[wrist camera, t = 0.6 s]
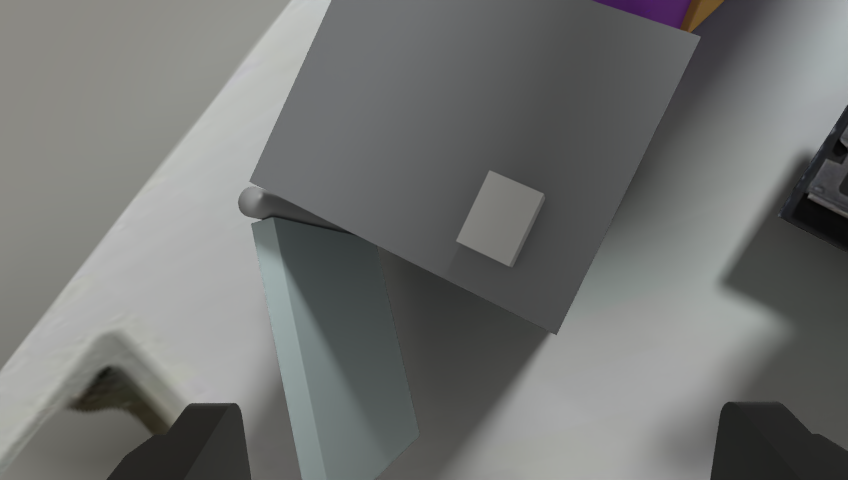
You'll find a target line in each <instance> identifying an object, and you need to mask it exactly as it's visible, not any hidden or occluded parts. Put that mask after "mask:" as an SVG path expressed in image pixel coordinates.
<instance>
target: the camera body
mask: <svg viewBox="0 0 848 480" xmlns="http://www.w3.org/2000/svg"><path fill="white" fill-rule="evenodd" d="M700 38H701V36H698V35H695V34H692V33H689V32H686V31H683V30H680V29H677V28H674V27H671V26H668V25H665V24H662V23H659V22H655V21H652V20H649V19H646V18H643V17H640V16H637V15H634V14H631V13H628V12H625V11H622V10H619V9H616V8H613V7H610V6H607V5H604V4H601V3H598V2H594V1H591V0H332V1H331V3H330V5H329V7H328V9H327V12H326V14H325V16H324V18H323V20H322V23H321V25H320V27H319V29H318V31H317V34H316V36H315V38H314V40H313V42H312V45H311V47H310V49H309V51H308V53H307V56H306V58H305V60H304V62H303V64H302V67H301V69H300V71H299V73H298V75H297V78H296V80H295V82H294V84H293V86H292V89H291V91H290V93H289V95H288V97H287V100H286V102H285V104H284V106H283V108H282V111H281V113H280V115H279V117H278V119H277V122H276V124H275V126H274V128H273V130H272V133H271V135H270V137H269V139H268V141H267V144H266V146H265V148H264V150H263V152H262V155H261V157H260V159H259V161H258V163H257V166H256V168H255V170H254V172H253V174H252V176H251V179H250V181H249V182H251V183H253V184H255V185H257V186H259V187H261V188H263V189H265V190H267V191H269V192H271V193H273V194H275V195H277V196H279V197H281V198H283V199H285V200H287V201H289V202H291V203H293V204H295V205H297V206H299V207H301V208H303V209H305V210H307V211H309V212H311V213H313V214H315V215H317V216H319V217H321V218H323V219H325V220H327V221H329V222H331V223H333V224H335V225H337V226H339V227H341V228H343V229H345V230H347V231H349V232H351V233H353V234H355V235H357V236H359V237H361V238H363V239H365V240H367V241H369V242H371V243H373V244H375V245H377V246H379V247H381V248H383V249H385V250H387V251H389V252H391V253H393V254H395V255H397V256H399V257H401V258H403V259H405V260H407V261H409V262H411V263H413V264H415V265H417V266H419V267H421V268H423V269H425V270H427V271H429V272H431V273H433V274H435V275H437V276H439V277H441V278H443V279H445V280H447V281H449V282H451V283H453V284H455V285H457V286H459V287H461V288H463V289H465V290H467V291H469V292H471V293H473V294H475V295H477V296H479V297H481V298H483V299H485V300H487V301H489V302H491V303H493V304H495V305H497V306H499V307H501V308H503V309H505V310H507V311H509V312H511V313H513V314H515V315H517V316H519V317H521V318H523V319H525V320H527V321H529V322H531V323H533V324H535V325H537V326H539V327H541V328H543V329H545V330H547V331H549V332H551V333H553V334H555V335H557V333H558V331H559V329H560V327H561V325H562V322H563V320H564V318H565V316H566V314H567V312H568V310H569V308H570V306H571V304H572V302H573V300H574V298H575V296H576V294H577V292H578V290H579V287H580V285H581V283H582V281H583V279H584V277H585V275H586V273H587V271H588V269H589V267H590V265H591V263H592V261H593V259H594V257H595V254H596V252H597V250H598V248H599V246H600V244H601V242H602V240H603V238H604V236H605V234H606V232H607V230H608V228H609V226H610V224H611V221H612V219H613V217H614V215H615V213H616V211H617V209H618V207H619V205H620V203H621V201H622V199H623V197H624V195H625V193H626V191H627V188H628V186H629V184H630V182H631V180H632V178H633V176H634V174H635V172H636V170H637V168H638V166H639V164H640V162H641V160H642V158H643V155H644V153H645V151H646V149H647V147H648V145H649V143H650V141H651V139H652V137H653V135H654V133H655V131H656V129H657V127H658V125H659V123H660V120H661V118H662V116H663V114H664V112H665V110H666V108H667V106H668V104H669V102H670V100H671V98H672V96H673V94H674V92H675V90H676V87H677V85H678V83H679V81H680V79H681V77H682V75H683V73H684V71H685V69H686V67H687V65H688V63H689V61H690V59H691V57H692V54H693V52H694V50H695V48H696V46H697V44H698V42H699V40H700Z"/></svg>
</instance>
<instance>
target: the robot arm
mask: <svg viewBox="0 0 848 480" xmlns="http://www.w3.org/2000/svg"><path fill="white" fill-rule="evenodd" d="M107 480H251V474H250V467H249V461H248V454H247V447H246V440H245V433H244V427H243V420H242V414H241V410H240V408H239V406H238V405H237V404H236V403H192V404H189V405H188V406H187V407H186V408H185V409H184V411H183V412H182V413H181V415H180V416H179V417H178V419H177V420H176V421H175V423H174V424H173V425H172V427H171V428H170V430H169V431H168V432H167V434H166V435H154V436H152V437H151V438H150V439H148V440H147V441H146V442H144V443H143V444H141V445H140V446H138V447H137V448H136V449H134V450H133V451H132V452H130V453H129V454H127V455H126V456H125V457H124V458H123V460H122V461H121V462H120V463H119V465H118V466H117V467H116V468H115V470H114V471H113V472H112V473H111V475H110V476H109V477H108V478H107ZM710 480H848V451H846V450H845V449H843V448H842V447H840V446H838V445H837V444H835V443H833V442H832V441H830V440H828V439H827V438H825V437H823V436H822V435H820V434H812V433H811V432H810V431H809V430H808V429H807V428H806V427H805V426H804V425H803V424H802V423H801V422H800V421H799V420H798V419H797V418H796V417H795V416H794V415H793V414H792V413H791V412H790V411H789V410H788V409H787V408H786V407H785V406H784V405H783V404H781V403H779V402H728V403H726V404H725V405H724V406H723V408H722V410H721V414H720V420H719V426H718V433H717V439H716V446H715V452H714V459H713V465H712V472H711V479H710Z"/></svg>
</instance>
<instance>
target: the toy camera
mask: <svg viewBox="0 0 848 480" xmlns="http://www.w3.org/2000/svg"><path fill="white" fill-rule="evenodd" d="M591 1H594V2H598V3H601V4H604V5H607V6H610V7H613V8H616V9H619V10H622V11H625V12H628V13H631V14H634V15H637V16H640V17H643V18H646V19H649V20H652V21H655V22H659V23H662V24H665V25H668V26H671V27H674V28H677V29H680V30H683V31H686V32H689V33H691V32H692V31H693V30H694V29H695V28H696V27H697V26H698V25H699V24H700V23H701V22H702V21H704V20H705V19H706V18H707V17H708V16H709V15H710V14H711V13H712V12H713V11H714V10H715V9H716V8H717V7H718V6H719V5H720V4H721V3H722V2H723V1H725V0H591Z"/></svg>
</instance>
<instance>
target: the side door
mask: <svg viewBox="0 0 848 480" xmlns="http://www.w3.org/2000/svg"><path fill="white" fill-rule="evenodd" d="M238 205H239V209H240V211H241V212H242V213H243V214H244V215H245V216H248V217H252V218H257V219H262V220H261V221H258V222H255V223H252V224H251V225H252V230H253V236H254V241H255V246H256V251H257V256H258V261H259V266H260V271H261V276H262V281H263V286H264V291H265V296H266V301H267V306H268V311H269V316H270V321H271V326H272V331H273V336H274V341H275V346H276V351H277V356H278V362H279V367H280V372H281V377H282V382H283V387H284V392H285V397H286V402H287V407H288V412H289V417H290V422H291V427H292V432H293V437H294V442H295V447H296V452H297V457H298V462H299V467H300V472H301V477H302V480H375V479H376V478H377V477H378V476H379V475H380V474H381V473H382V472H383V471H384V470H385V469H386V468H387V467H388V466H389V465H390V464H391V463H392V462H393V461H394V460H395V459H396V458H397V457H398V456H399V455H400V454H401V453H402V452H403V451H404V450H405V449H406V448H407V447H408V446H409V445H410V444H411V443H412V442H413V441H415V440H416V439H417V438H418V437H419V436H420V434H419V429H418V425H417V420H416V416H415V412H414V407H413V403H412V399H411V394H410V390H409V385H408V381H407V377H406V372H405V368H404V364H403V359H402V355H401V350H400V346H399V342H398V337H397V333H396V329H395V324H394V320H393V316H392V311H391V307H390V302H389V298H388V294H387V289H386V285H385V281H384V276H383V272H382V267H381V263H380V259H379V254H378V250H377V246H376V245H375V244H373V243H371V242H369V241H367V240H365V239H363V238H361V237H359V236H357V235H355V234H353V233H351V232H349V231H347V230H345V229H343V228H341V227H339V226H337V225H335V224H333V223H331V222H329V221H327V220H325V219H323V218H321V217H319V216H317V215H315V214H313V213H311V212H309V211H307V210H305V209H303V208H301V207H299V206H297V205H295V204H293V203H291V202H289V201H287V200H285V199H283V198H281V197H279V196H277V195H275V194H273V193H271V192H269V191H267V190H264V189H261V188H258V187H248V188H246V189H245V190H244V191H243V192H242V193H241V194H240V196H239V200H238Z"/></svg>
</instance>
